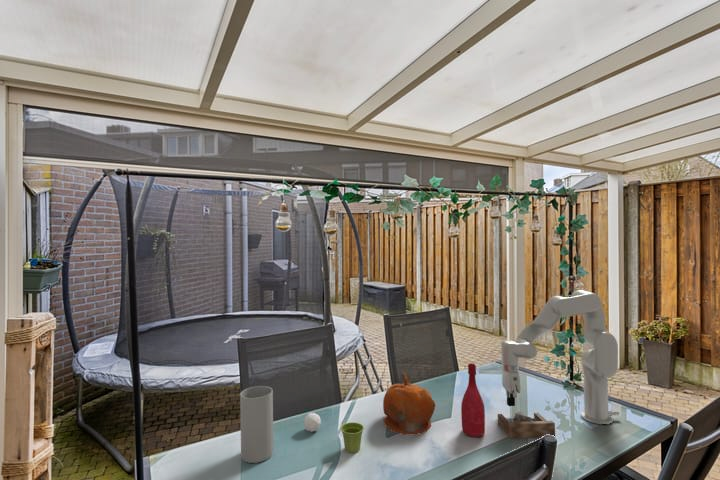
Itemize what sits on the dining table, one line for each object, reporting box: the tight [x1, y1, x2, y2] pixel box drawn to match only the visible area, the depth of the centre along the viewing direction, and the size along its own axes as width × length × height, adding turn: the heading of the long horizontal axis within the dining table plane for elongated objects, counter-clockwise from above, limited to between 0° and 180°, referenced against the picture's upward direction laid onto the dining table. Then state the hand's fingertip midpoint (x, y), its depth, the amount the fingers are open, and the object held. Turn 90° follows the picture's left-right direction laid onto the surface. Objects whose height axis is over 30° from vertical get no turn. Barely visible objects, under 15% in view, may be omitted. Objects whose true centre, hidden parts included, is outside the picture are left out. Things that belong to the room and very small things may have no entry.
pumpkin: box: [382, 371, 436, 435], centre depth 172 cm, size 22×25×23 cm
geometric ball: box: [303, 412, 322, 433], centre depth 165 cm, size 8×8×8 cm
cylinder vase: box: [239, 385, 275, 464], centre depth 147 cm, size 12×12×25 cm
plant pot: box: [340, 422, 364, 453], centre depth 150 cm, size 9×9×9 cm
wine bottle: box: [460, 362, 486, 438], centre depth 161 cm, size 10×10×30 cm
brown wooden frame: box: [497, 412, 556, 440], centre depth 163 cm, size 19×14×6 cm
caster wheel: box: [512, 411, 537, 422], centre depth 165 cm, size 7×11×10 cm
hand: (511, 405), depth 177 cm, fingers closed
